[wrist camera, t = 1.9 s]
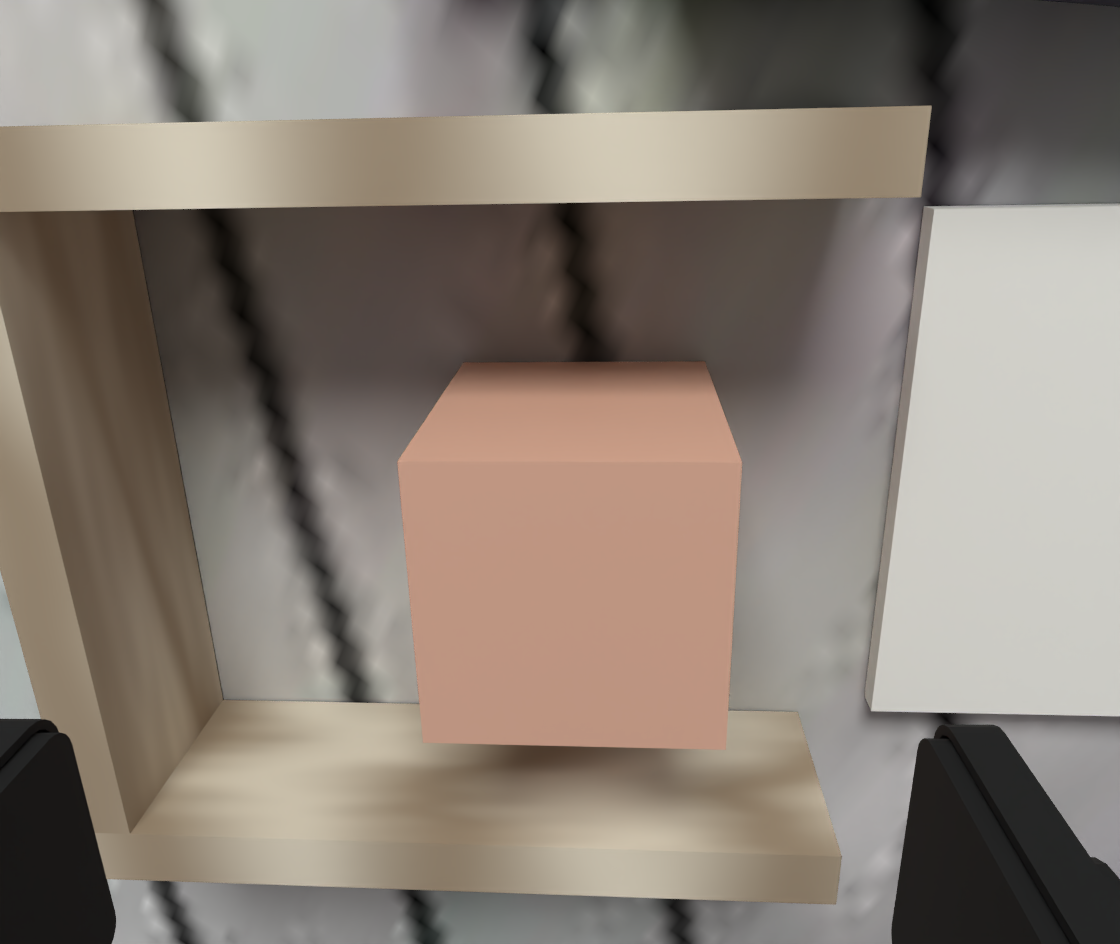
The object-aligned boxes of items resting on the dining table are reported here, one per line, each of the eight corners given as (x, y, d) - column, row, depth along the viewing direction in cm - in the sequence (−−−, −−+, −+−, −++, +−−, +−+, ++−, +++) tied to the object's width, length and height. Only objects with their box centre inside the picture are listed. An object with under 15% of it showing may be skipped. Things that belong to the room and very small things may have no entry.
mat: (1427, 198, 16) (1456, 200, 16) (1268, 703, 20) (1286, 719, 20) (923, 206, 17) (934, 209, 16) (864, 695, 21) (871, 711, 20)
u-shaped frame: (851, 111, 16) (931, 105, 12) (794, 753, 22) (836, 904, 17) (58, 129, 17) (-121, 129, 13) (184, 739, 23) (84, 878, 18)
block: (704, 360, 18) (742, 462, 13) (696, 577, 20) (725, 749, 15) (464, 362, 19) (396, 461, 13) (476, 574, 20) (422, 742, 15)
